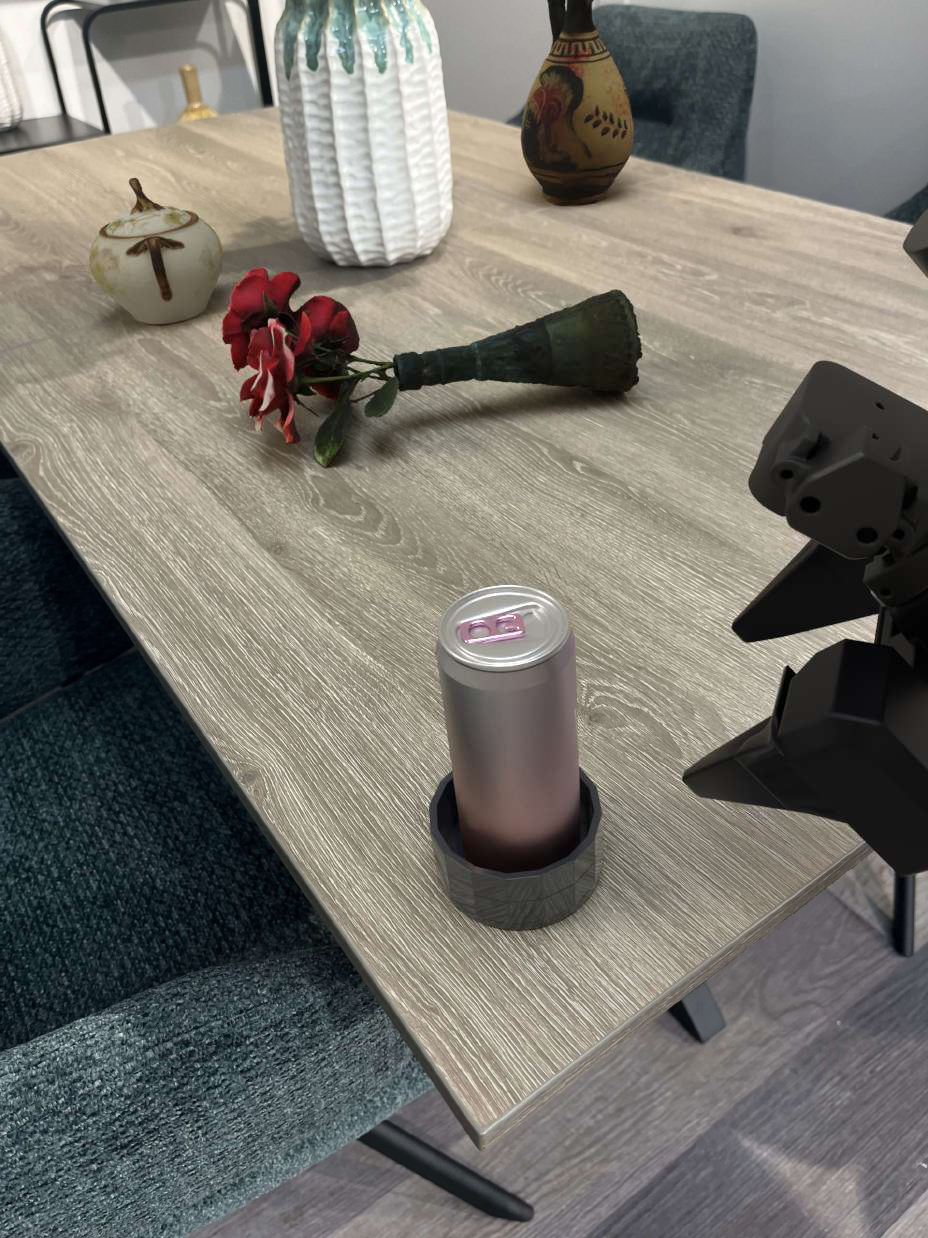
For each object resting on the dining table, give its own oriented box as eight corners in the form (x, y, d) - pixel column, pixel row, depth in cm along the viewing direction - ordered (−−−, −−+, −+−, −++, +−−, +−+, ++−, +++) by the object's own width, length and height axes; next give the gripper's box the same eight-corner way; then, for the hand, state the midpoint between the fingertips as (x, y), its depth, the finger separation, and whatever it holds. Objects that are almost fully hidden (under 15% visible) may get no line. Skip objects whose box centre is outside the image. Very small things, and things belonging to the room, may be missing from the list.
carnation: (610, 454, 99) (253, 509, 93) (568, 286, 103) (221, 328, 96) (662, 382, 84) (239, 442, 78) (610, 188, 87) (202, 231, 81)
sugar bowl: (106, 296, 126) (66, 170, 117) (224, 274, 129) (195, 148, 120) (110, 354, 111) (65, 213, 102) (244, 327, 114) (212, 188, 105)
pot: (633, 885, 50) (635, 832, 48) (483, 958, 47) (476, 907, 45) (549, 777, 56) (546, 725, 54) (412, 837, 54) (402, 786, 51)
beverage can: (456, 818, 54) (424, 593, 44) (565, 799, 54) (556, 571, 45) (474, 911, 49) (443, 681, 40) (594, 889, 49) (590, 655, 40)
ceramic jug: (656, 193, 140) (663, -67, 121) (564, 219, 134) (557, -49, 116) (584, 170, 152) (581, -69, 133) (497, 193, 146) (481, -53, 128)
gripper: (960, 200, 35) (639, 448, 45) (930, 465, 21) (487, 728, 32) (1150, 430, 37) (800, 616, 47) (1229, 802, 23) (719, 943, 34)
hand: (716, 703), depth 40 cm, fingers open, 9 cm apart
